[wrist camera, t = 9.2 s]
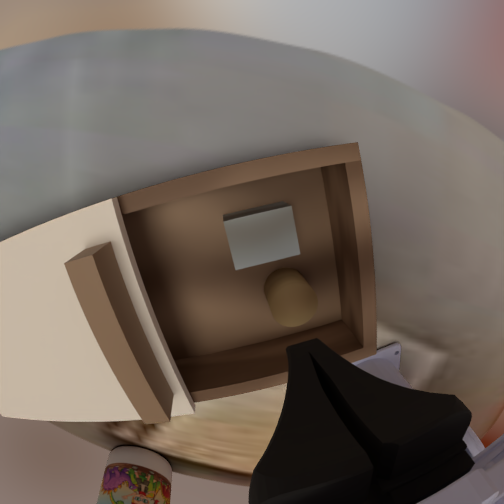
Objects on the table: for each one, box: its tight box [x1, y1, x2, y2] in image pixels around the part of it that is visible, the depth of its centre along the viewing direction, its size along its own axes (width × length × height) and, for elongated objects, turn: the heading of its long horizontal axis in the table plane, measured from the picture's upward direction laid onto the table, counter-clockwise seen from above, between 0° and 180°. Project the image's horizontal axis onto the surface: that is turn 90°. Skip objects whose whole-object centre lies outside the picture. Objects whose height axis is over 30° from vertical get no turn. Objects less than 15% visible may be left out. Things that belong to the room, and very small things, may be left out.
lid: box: [0, 197, 195, 424], centre depth 14 cm, size 14×20×3 cm
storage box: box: [117, 142, 377, 402], centre depth 19 cm, size 14×20×5 cm
